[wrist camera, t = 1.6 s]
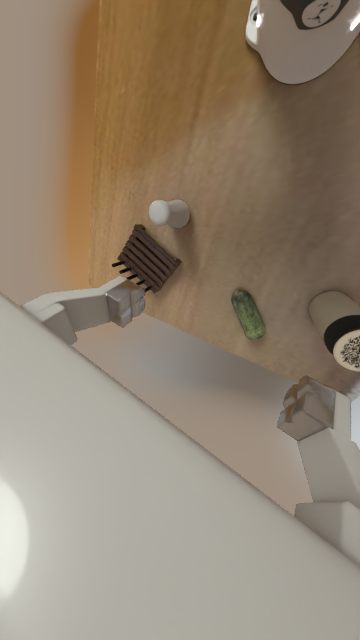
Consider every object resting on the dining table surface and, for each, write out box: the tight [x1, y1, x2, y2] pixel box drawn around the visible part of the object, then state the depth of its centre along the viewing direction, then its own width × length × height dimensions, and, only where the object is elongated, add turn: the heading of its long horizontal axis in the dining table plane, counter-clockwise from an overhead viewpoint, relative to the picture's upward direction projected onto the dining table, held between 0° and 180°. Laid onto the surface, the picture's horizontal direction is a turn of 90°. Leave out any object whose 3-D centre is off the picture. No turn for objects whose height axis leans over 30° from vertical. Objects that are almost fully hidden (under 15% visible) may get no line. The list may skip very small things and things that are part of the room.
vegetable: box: [231, 289, 265, 340], centre depth 49 cm, size 14×5×5 cm, turn 29°
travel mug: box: [308, 291, 360, 371], centre depth 37 cm, size 8×8×18 cm
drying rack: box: [112, 224, 181, 293], centre depth 51 cm, size 11×14×7 cm
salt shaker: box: [149, 199, 190, 228], centre depth 42 cm, size 6×6×13 cm
